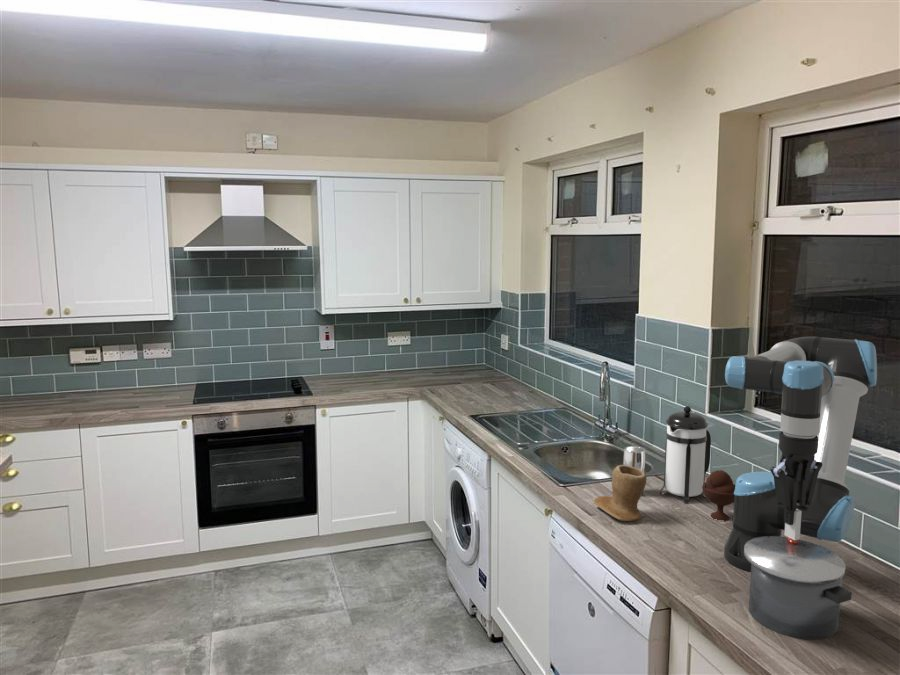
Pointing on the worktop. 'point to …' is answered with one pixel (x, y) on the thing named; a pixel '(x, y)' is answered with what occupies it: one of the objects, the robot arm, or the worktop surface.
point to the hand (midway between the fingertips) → (791, 537)
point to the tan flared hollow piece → (624, 494)
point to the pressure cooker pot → (796, 605)
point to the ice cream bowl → (719, 492)
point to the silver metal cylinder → (634, 457)
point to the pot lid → (794, 559)
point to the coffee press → (686, 454)
